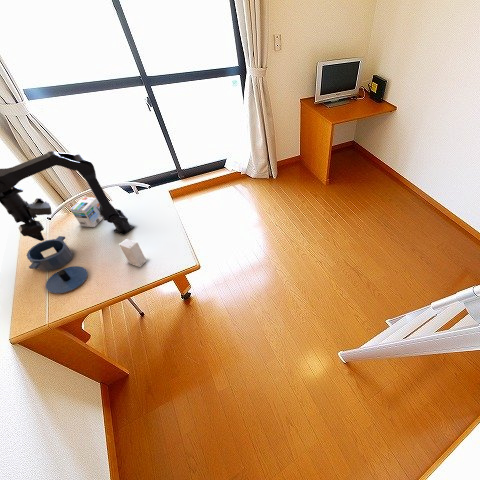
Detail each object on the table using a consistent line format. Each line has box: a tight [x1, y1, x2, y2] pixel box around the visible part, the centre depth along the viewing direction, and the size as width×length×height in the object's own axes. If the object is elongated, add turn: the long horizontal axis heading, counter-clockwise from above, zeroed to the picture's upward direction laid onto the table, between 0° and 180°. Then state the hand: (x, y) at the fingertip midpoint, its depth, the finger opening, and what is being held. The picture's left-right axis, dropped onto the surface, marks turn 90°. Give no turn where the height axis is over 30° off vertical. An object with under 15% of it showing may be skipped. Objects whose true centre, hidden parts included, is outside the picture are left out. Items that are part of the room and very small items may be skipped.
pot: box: [26, 235, 74, 272], centre depth 119 cm, size 13×18×6 cm
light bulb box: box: [69, 196, 104, 228], centre depth 137 cm, size 11×7×11 cm, turn 179°
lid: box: [45, 265, 89, 295], centre depth 113 cm, size 14×14×6 cm
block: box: [41, 247, 58, 259], centre depth 120 cm, size 4×4×4 cm
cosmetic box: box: [118, 238, 147, 268], centre depth 121 cm, size 6×4×12 cm
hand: (39, 234), depth 114 cm, fingers open, 9 cm apart
